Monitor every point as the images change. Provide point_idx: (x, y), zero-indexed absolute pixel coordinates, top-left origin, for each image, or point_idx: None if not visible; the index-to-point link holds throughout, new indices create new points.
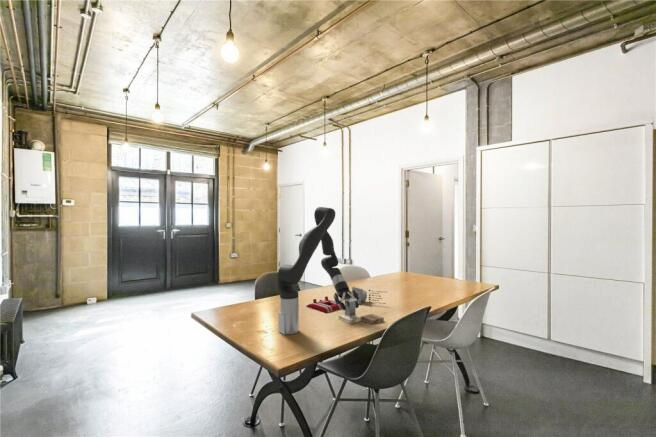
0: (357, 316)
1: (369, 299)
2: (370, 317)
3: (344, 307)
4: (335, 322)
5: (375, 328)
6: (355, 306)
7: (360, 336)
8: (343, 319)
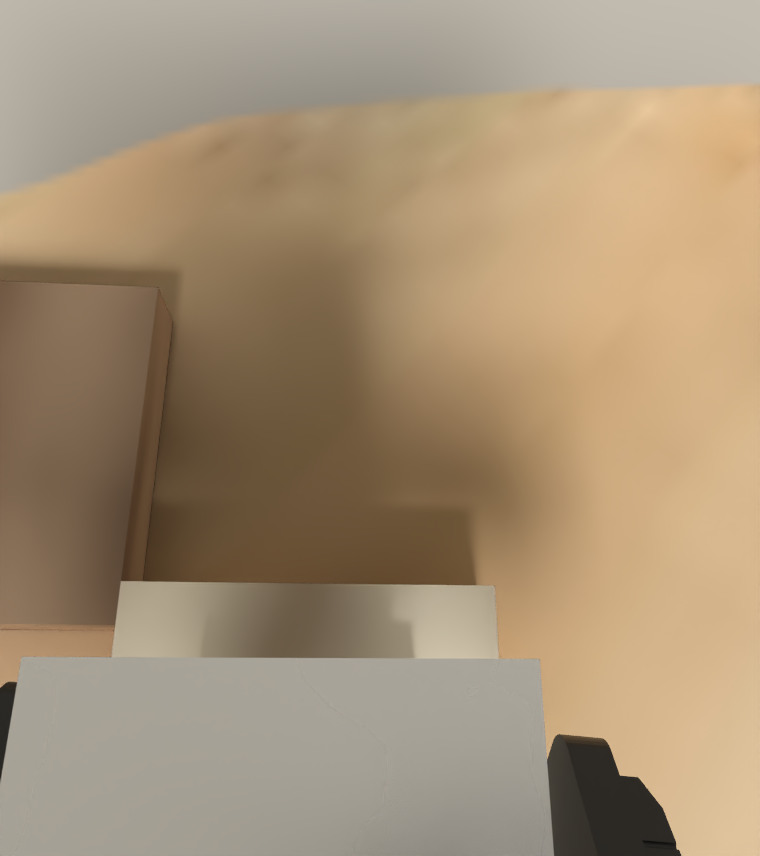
0: None
1: None
2: (4, 435)
3: (615, 776)
4: None
5: (274, 171)
6: None
7: (653, 103)
8: None
